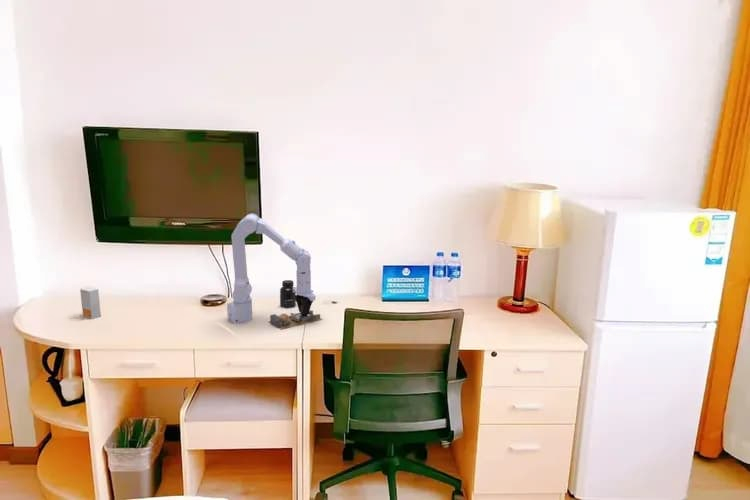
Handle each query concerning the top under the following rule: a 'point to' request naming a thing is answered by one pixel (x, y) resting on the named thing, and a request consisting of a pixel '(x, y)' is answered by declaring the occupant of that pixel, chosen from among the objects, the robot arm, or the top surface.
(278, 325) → the bench
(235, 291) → the robot arm
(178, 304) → the top surface
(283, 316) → the tan wooden ball
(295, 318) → the ram
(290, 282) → the supplement bottle
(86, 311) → the skincare box
